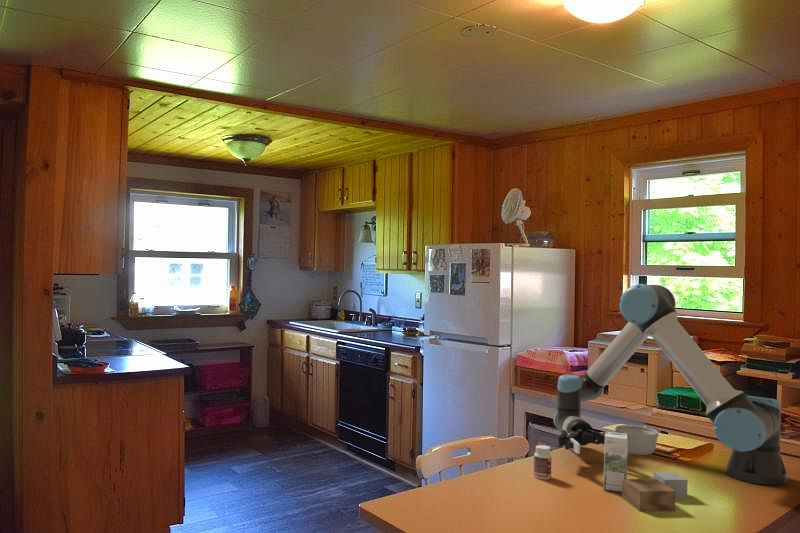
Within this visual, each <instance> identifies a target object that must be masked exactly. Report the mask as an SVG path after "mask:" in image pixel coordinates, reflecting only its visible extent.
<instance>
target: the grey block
mask: <svg viewBox="0 0 800 533" xmlns="http://www.w3.org/2000/svg"><path fill="white" fill-rule="evenodd" d="M653 479H657V480H658V481H660V482H662V483H663V484H665V485H666V486H668V487H670V488H671V489H673V490H674V491H675V500H688V479H687V478H686V477H683V475H681V474H679V473H677V472H661V471H660V472H657V471H656V472H653Z"/></svg>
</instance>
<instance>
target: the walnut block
mask: <svg viewBox="0 0 800 533" xmlns="http://www.w3.org/2000/svg"><path fill="white" fill-rule="evenodd" d="M621 499H623V501H625V502H627V503H628V504H630V506H632V507H634V509H636V511H638V512H675V511H676V499H675V491H674V490H673V489H671V488H670V487H668V486H666V485H665V484H663V483H662V482H660V481H658V480H657V479H654V478H627V479H623V481H622V492H621Z"/></svg>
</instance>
